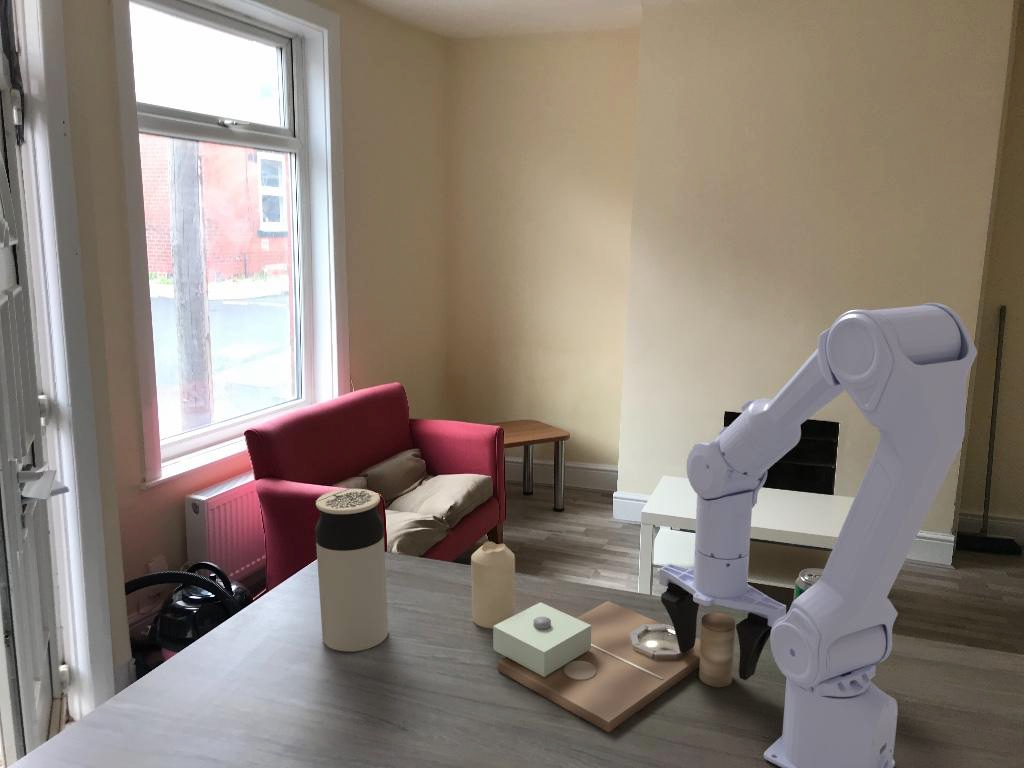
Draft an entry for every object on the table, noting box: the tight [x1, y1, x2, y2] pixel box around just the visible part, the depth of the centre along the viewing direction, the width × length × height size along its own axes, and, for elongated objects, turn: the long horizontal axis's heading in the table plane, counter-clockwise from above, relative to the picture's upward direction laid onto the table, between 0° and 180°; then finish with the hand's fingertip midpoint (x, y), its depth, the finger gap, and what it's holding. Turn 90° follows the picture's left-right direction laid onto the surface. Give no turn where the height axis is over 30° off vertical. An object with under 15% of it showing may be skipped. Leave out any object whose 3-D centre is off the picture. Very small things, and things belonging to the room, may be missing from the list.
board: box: [497, 600, 701, 733], centre depth 95 cm, size 16×20×1 cm
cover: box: [492, 602, 591, 677], centre depth 95 cm, size 8×8×4 cm
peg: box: [698, 612, 736, 688], centre depth 91 cm, size 4×4×7 cm
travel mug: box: [315, 488, 389, 653], centre depth 99 cm, size 8×8×18 cm
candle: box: [470, 541, 516, 630], centre depth 104 cm, size 6×6×10 cm
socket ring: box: [630, 623, 691, 659], centre depth 97 cm, size 7×7×1 cm
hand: (716, 662), depth 91 cm, fingers open, 7 cm apart
